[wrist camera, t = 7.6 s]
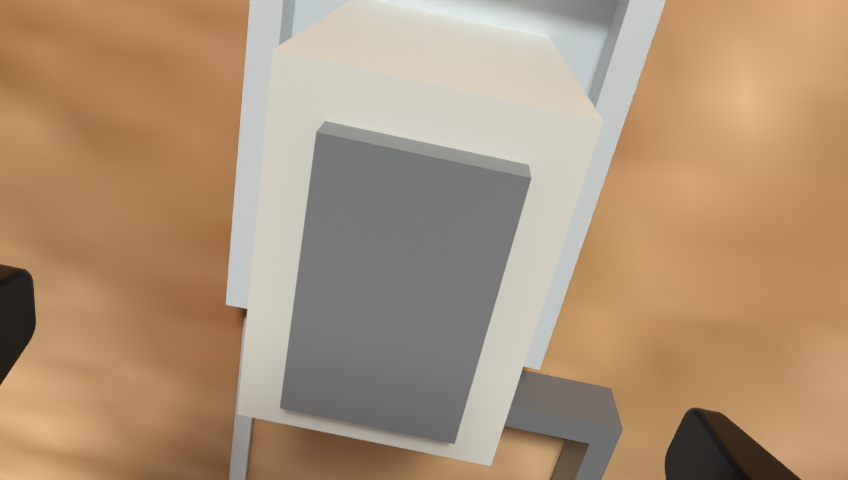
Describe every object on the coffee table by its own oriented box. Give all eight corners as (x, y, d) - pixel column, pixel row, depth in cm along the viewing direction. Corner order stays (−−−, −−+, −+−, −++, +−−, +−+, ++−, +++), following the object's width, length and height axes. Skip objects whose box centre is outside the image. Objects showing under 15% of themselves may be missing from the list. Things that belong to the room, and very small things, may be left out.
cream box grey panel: (550, 37, 17) (610, 132, 9) (485, 271, 20) (491, 490, 12) (358, -5, 17) (261, 56, 9) (323, 237, 20) (227, 435, 12)
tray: (659, -43, 17) (678, -40, 15) (534, 336, 22) (539, 369, 20) (282, -127, 16) (260, -133, 15) (244, 275, 22) (225, 304, 20)
